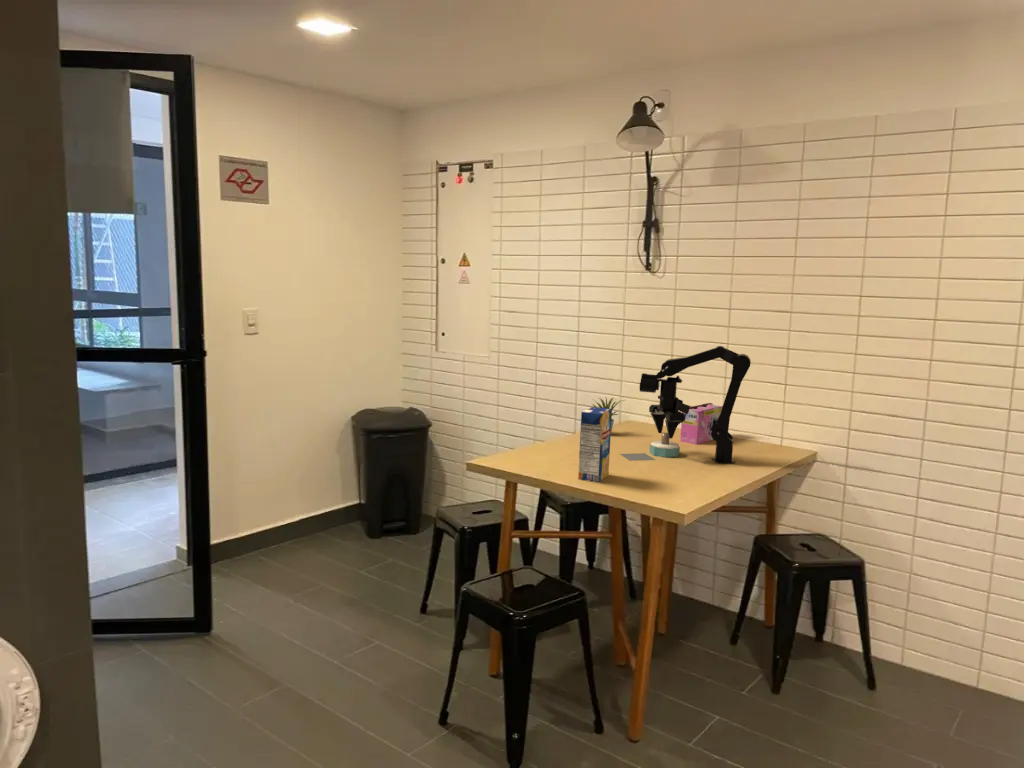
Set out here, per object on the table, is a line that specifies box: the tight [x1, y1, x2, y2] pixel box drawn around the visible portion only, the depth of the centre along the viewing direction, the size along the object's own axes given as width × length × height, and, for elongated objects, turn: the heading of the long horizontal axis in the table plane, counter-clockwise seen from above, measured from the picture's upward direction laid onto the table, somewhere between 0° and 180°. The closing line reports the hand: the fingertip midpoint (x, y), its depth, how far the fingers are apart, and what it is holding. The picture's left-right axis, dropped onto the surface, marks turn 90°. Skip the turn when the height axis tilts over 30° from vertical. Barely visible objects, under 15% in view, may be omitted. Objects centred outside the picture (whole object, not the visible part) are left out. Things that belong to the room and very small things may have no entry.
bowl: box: [649, 444, 681, 458], centre depth 281 cm, size 10×10×4 cm
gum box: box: [679, 402, 723, 445], centre depth 313 cm, size 24×8×14 cm, turn 138°
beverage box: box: [577, 406, 613, 483], centre depth 246 cm, size 7×11×22 cm, turn 156°
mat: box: [619, 452, 656, 462], centre depth 276 cm, size 10×10×1 cm
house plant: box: [591, 396, 626, 433], centre depth 315 cm, size 14×14×16 cm
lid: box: [650, 431, 680, 449], centre depth 281 cm, size 10×10×5 cm
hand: (665, 435), depth 281 cm, fingers open, 9 cm apart
